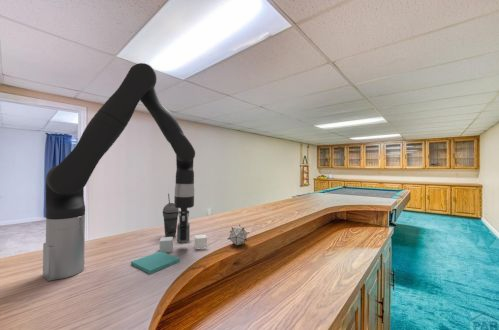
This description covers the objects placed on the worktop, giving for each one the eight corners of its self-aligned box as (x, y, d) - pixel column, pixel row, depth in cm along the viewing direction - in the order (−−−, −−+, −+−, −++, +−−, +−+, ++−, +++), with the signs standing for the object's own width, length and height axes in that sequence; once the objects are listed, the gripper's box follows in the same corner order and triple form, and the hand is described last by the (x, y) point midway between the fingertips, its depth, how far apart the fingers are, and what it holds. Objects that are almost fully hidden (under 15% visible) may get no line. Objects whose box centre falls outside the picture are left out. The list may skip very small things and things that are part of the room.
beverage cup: (175, 239, 99) (176, 194, 99) (159, 239, 99) (159, 194, 99) (180, 234, 106) (181, 192, 106) (165, 234, 106) (166, 192, 107)
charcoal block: (189, 240, 86) (189, 225, 86) (176, 241, 85) (177, 226, 85) (189, 237, 90) (189, 222, 90) (177, 238, 89) (178, 223, 89)
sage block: (189, 242, 96) (189, 231, 96) (178, 242, 95) (178, 232, 95) (189, 238, 100) (189, 228, 101) (179, 239, 99) (179, 229, 99)
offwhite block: (206, 249, 88) (206, 237, 88) (194, 250, 87) (195, 238, 87) (205, 245, 93) (205, 234, 93) (194, 246, 91) (194, 235, 91)
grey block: (172, 252, 85) (172, 240, 85) (159, 253, 84) (159, 241, 84) (172, 247, 89) (172, 236, 89) (160, 248, 88) (161, 237, 88)
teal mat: (149, 274, 67) (149, 270, 67) (131, 264, 74) (131, 261, 74) (179, 261, 76) (179, 258, 76) (160, 253, 83) (160, 251, 83)
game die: (237, 252, 95) (240, 229, 101) (251, 249, 90) (254, 226, 96) (221, 245, 90) (225, 222, 96) (236, 242, 85) (239, 218, 91)
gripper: (194, 197, 82) (193, 243, 82) (194, 192, 96) (193, 232, 95) (173, 197, 80) (171, 244, 80) (175, 193, 94) (174, 233, 94)
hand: (183, 237), depth 88 cm, fingers closed on charcoal block, 4 cm apart
